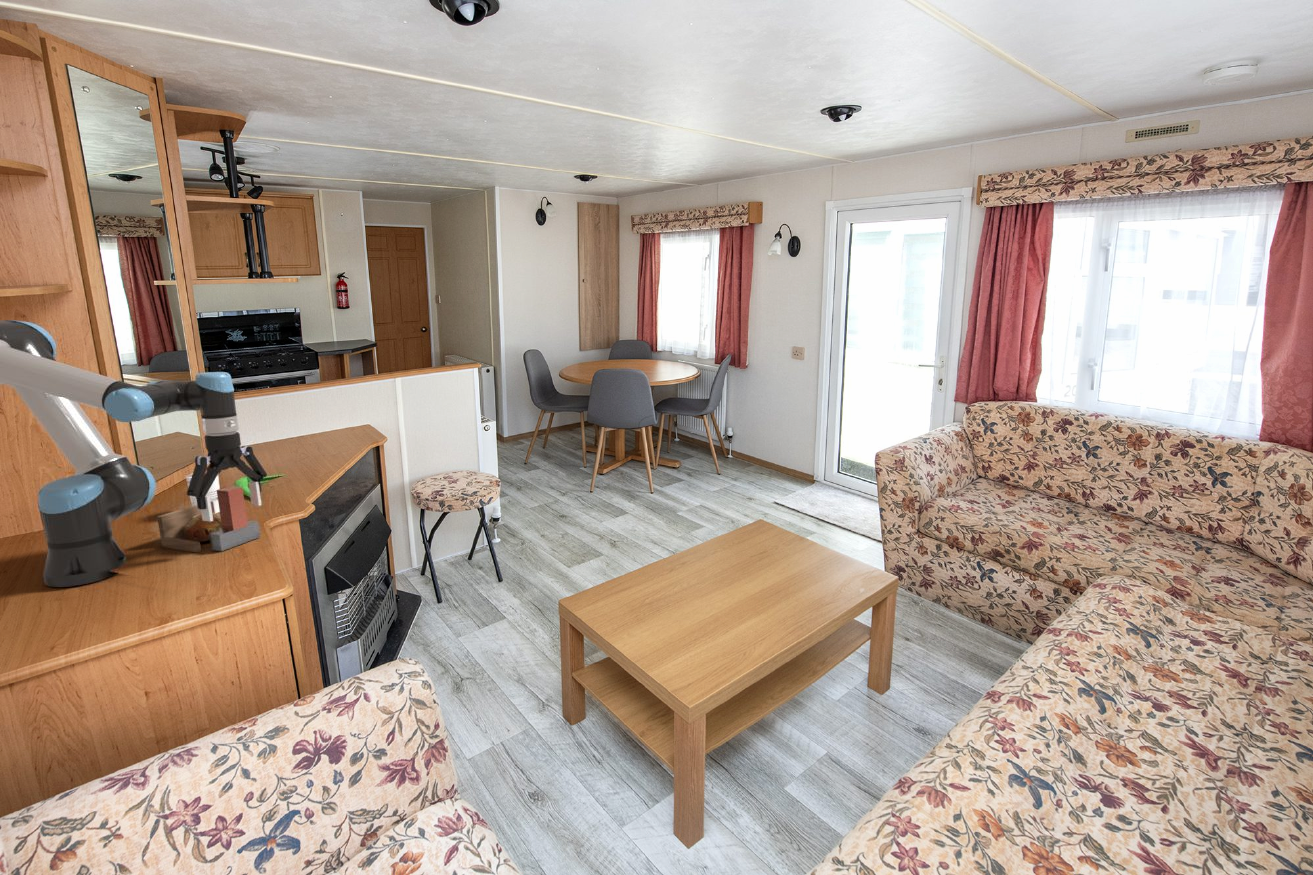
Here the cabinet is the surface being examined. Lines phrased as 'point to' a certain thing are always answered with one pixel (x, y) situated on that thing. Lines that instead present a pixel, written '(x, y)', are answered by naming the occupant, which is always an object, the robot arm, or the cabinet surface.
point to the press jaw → (233, 521)
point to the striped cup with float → (211, 492)
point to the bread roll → (201, 528)
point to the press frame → (178, 529)
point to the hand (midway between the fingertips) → (233, 512)
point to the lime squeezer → (245, 485)
